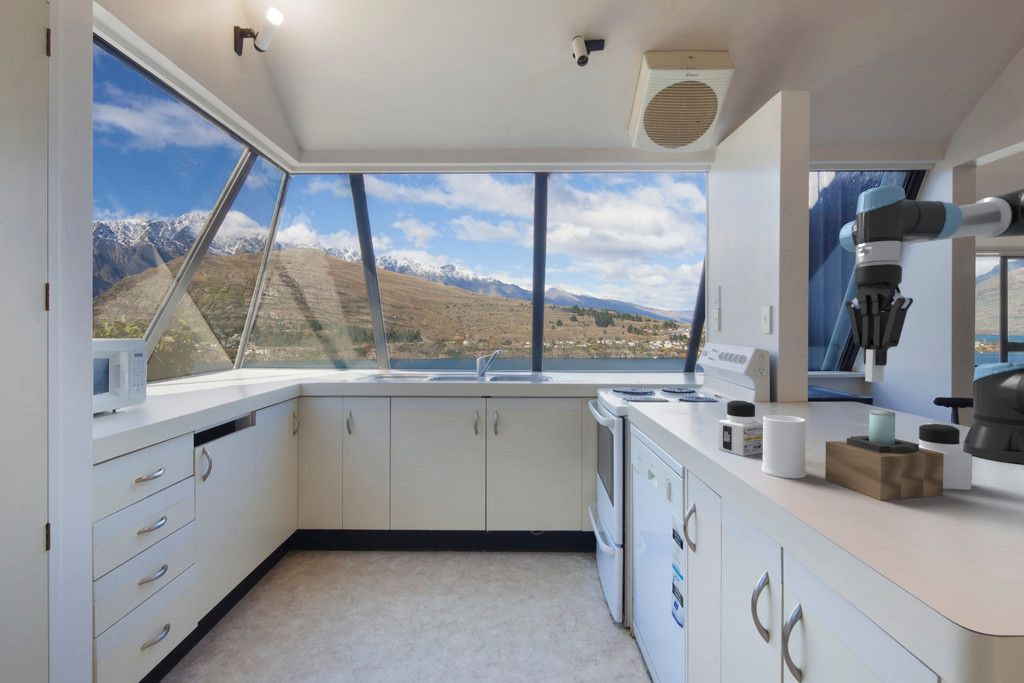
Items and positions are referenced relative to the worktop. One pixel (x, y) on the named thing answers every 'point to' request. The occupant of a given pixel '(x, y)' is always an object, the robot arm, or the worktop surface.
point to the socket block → (884, 468)
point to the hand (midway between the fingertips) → (874, 381)
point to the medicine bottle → (948, 454)
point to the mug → (784, 446)
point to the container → (741, 430)
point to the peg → (882, 427)
